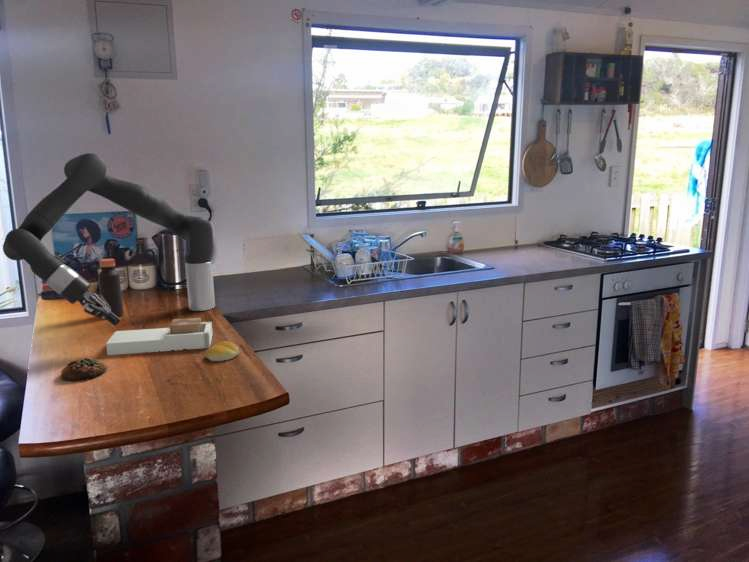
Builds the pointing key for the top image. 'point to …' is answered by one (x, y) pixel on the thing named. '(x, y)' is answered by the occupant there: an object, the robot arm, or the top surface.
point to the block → (186, 326)
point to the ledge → (137, 341)
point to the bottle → (110, 286)
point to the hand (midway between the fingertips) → (118, 322)
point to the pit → (190, 339)
